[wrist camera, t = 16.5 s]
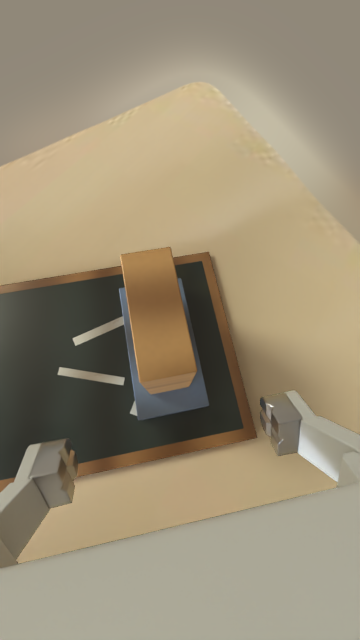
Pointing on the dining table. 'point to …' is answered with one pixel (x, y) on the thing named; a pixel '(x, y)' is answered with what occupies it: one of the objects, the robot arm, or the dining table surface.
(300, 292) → the dining table surface
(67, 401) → the slate board
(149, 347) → the eraser
